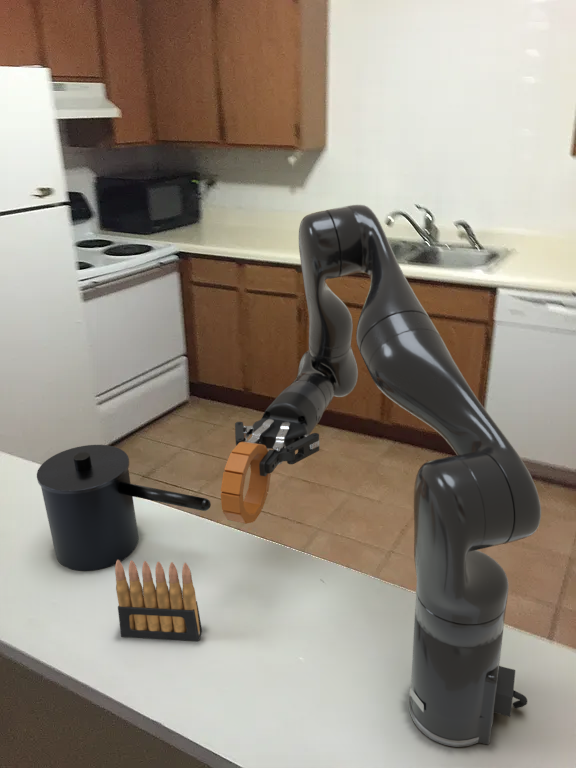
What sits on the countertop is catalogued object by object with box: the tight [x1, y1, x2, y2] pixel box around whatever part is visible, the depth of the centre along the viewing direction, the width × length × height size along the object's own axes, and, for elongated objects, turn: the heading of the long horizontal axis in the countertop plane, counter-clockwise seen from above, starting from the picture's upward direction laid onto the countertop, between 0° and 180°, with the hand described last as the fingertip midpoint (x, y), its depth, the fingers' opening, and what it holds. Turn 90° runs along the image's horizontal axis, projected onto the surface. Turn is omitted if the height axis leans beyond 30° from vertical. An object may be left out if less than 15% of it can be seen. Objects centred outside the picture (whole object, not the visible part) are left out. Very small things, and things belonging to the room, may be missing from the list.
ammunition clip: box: [114, 559, 203, 642], centre depth 87 cm, size 11×2×12 cm, turn 84°
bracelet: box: [220, 442, 272, 525], centre depth 89 cm, size 3×10×10 cm, turn 159°
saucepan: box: [36, 444, 212, 572], centre depth 102 cm, size 28×14×16 cm, turn 69°
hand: (251, 468), depth 89 cm, fingers closed on bracelet, 2 cm apart
